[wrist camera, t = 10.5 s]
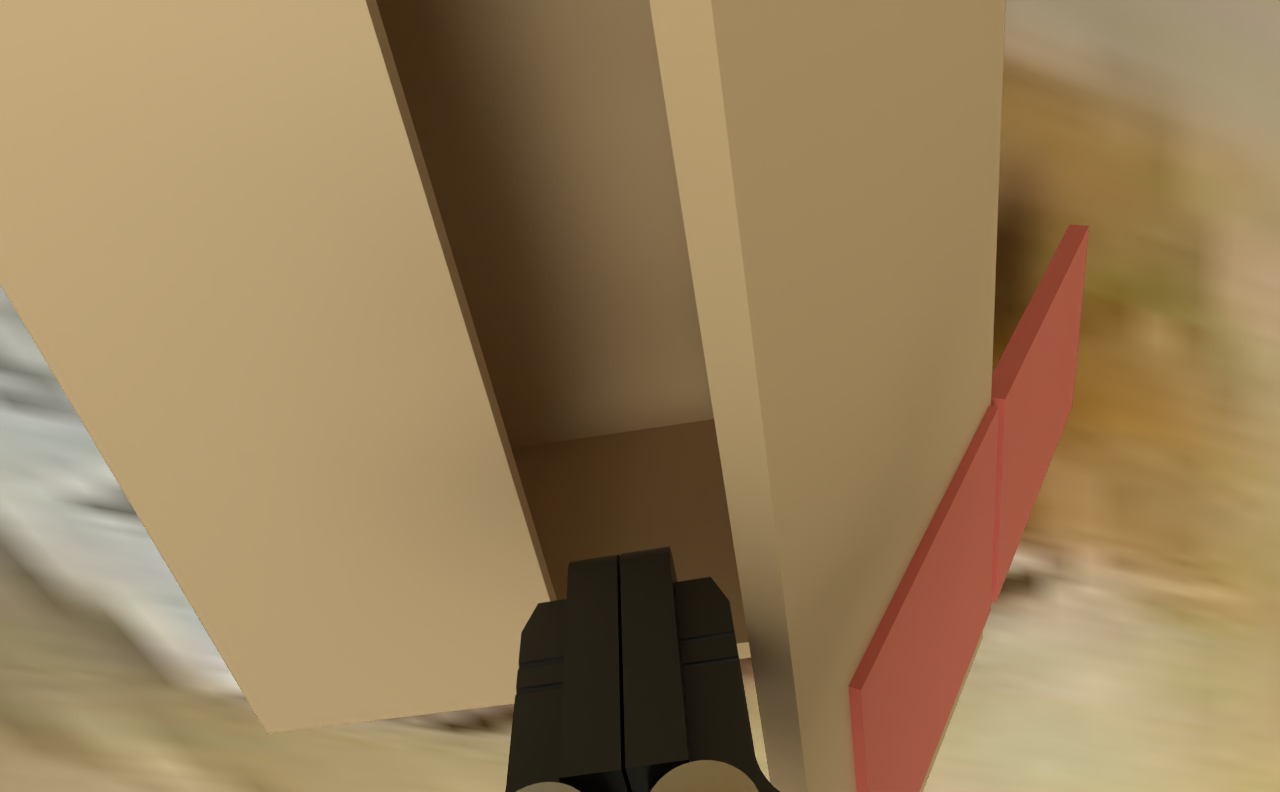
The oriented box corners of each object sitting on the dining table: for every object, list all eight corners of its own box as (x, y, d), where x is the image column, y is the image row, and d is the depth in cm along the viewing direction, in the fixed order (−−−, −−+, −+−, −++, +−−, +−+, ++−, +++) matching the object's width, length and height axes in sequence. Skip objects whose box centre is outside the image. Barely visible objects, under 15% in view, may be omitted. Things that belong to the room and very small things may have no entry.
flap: (804, 1000, 17) (848, 1024, 17) (632, -113, 8) (725, -126, 7) (1041, 432, 30) (1069, 436, 29) (1090, -255, 20) (1134, -264, 20)
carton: (365, 474, 36) (254, 750, 25) (128, -101, 25) (-229, -37, 15) (860, 402, 34) (962, 665, 24) (826, -244, 24) (980, -285, 13)
